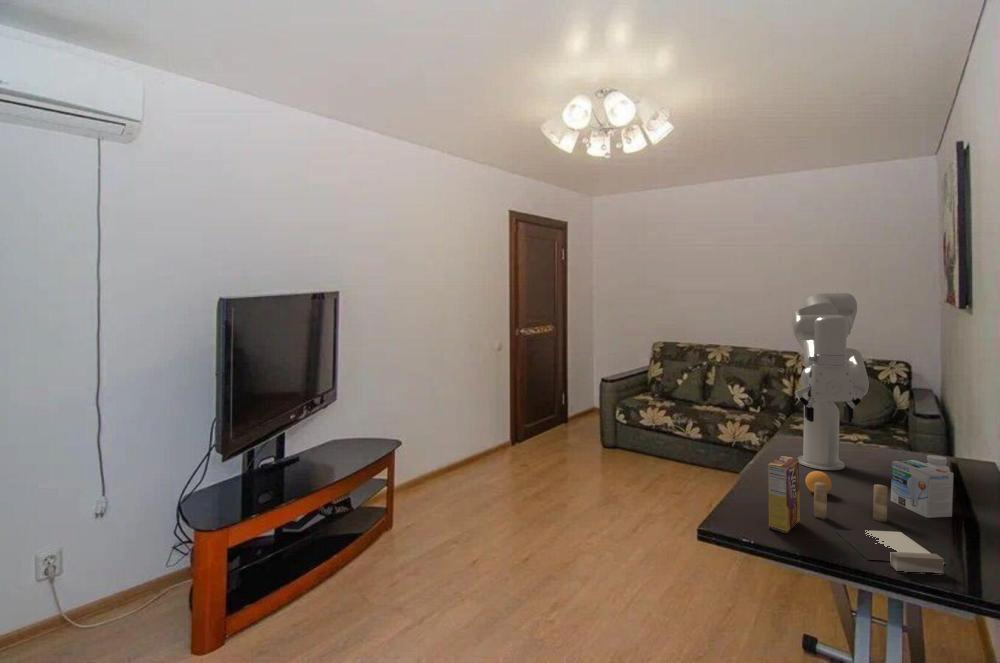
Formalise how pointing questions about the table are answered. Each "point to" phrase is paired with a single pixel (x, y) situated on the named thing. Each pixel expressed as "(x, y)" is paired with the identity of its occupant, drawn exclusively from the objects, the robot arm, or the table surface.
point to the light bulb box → (922, 488)
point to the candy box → (783, 493)
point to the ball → (817, 480)
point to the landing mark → (897, 541)
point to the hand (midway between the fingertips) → (828, 421)
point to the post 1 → (820, 500)
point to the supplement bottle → (937, 462)
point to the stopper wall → (916, 562)
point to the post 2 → (880, 503)
